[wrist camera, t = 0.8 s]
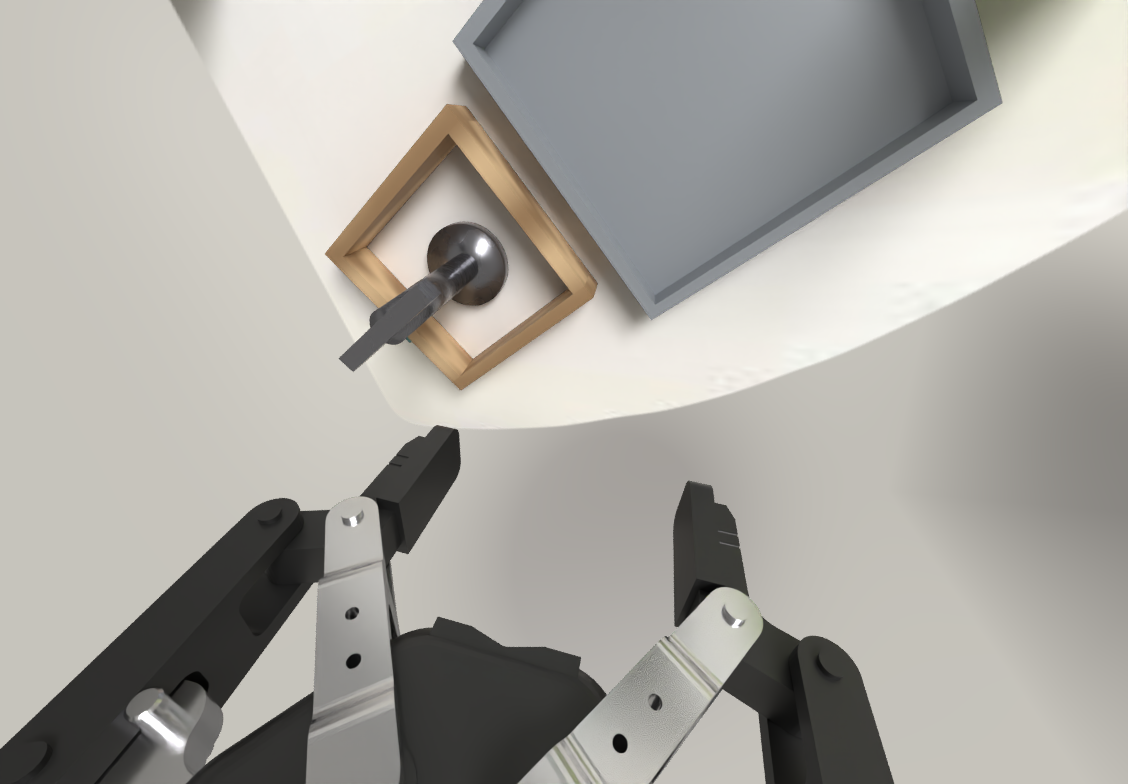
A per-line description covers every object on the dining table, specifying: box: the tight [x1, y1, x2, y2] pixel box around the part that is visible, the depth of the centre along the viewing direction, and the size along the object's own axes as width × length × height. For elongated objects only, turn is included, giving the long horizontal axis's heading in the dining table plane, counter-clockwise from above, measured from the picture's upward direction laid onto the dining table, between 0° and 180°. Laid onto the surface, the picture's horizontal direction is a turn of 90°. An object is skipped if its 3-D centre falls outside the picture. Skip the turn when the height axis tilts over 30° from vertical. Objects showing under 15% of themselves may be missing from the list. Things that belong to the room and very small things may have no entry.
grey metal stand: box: [339, 222, 508, 371], centre depth 26 cm, size 6×7×13 cm
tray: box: [453, 0, 1002, 320], centre depth 22 cm, size 20×20×2 cm
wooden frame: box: [325, 104, 598, 390], centre depth 30 cm, size 14×16×3 cm
